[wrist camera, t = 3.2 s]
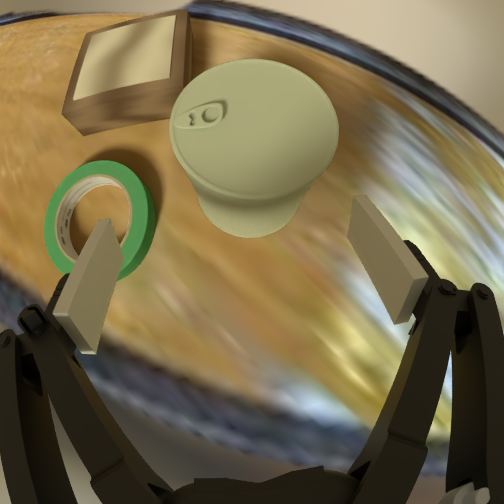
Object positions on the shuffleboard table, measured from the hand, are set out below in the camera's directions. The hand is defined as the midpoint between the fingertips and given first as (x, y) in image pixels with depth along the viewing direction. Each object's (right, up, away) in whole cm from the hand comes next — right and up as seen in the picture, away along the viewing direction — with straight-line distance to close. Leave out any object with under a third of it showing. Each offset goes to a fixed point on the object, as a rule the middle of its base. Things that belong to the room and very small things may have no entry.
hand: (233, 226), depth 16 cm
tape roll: (-13, +1, +10) cm, 16 cm away
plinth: (-11, +17, +11) cm, 24 cm away
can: (+1, +4, +11) cm, 11 cm away
